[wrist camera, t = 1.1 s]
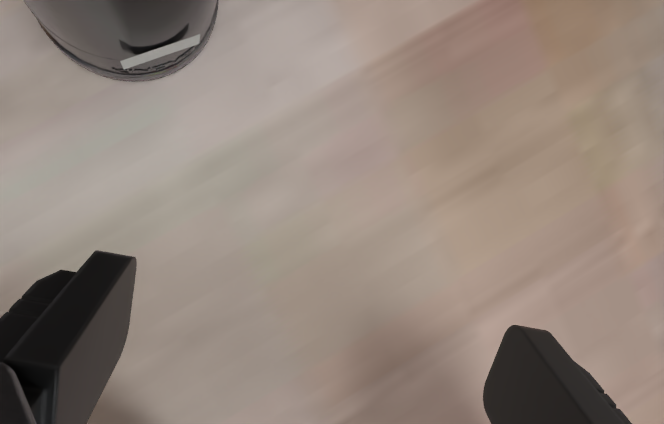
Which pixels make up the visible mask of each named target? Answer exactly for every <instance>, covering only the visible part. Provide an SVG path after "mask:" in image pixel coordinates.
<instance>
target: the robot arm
mask: <svg viewBox="0 0 664 424" xmlns="http://www.w3.org/2000/svg"><path fill="white" fill-rule="evenodd" d="M23 1H24V2H25V4H26V5H27V6H28V7H29V9H30V10H31V12H32V13H33V14H34V16H35V17H36V18H37V20H38V22H39V23H40V25H41V27H42V28H43V30H44V31H45V32H46V34H47V35H48V36H49V38H50V39H51V40H52V41H53V42H54V44H55V45H56V46H57V47H58V48H59V49H60V50H61V51H62V52H63V53H64V54H65V55H66V56H68V57H69V58H70V59H71V60H73V61H74V62H76V63H77V64H78V65H80V66H82V67H84V68H85V69H87V70H89V71H91V72H94V73H96V74H98V75H101V76H104V77H108V78H112V79H116V80H123V81H146V80H153V79H157V78H161V77H164V76H167V75H170V74H172V73H174V72H176V71H178V70H179V69H181V68H183V67H184V66H186V65H187V64H188V63H190V62H191V61H192V60H193V59H194V58H195V57H196V56H197V55H198V54H199V53H200V52H201V50H202V49H203V48H204V46H205V45H206V43H207V41H208V40H209V38H210V36H211V33H212V31H213V28H214V25H215V21H216V16H217V10H218V0H23ZM135 275H136V258H135V257H131V256H126V255H120V254H114V253H109V252H103V251H95V252H94V253H93V254H92V255H91V256H90V257H89V259H88V260H87V261H86V262H85V263H84V264H83V266H82V267H81V268H80V269H79V270H78V271H77V272H71V271H65V270H60V271H57V272H55V273H53V274H51V275H49V276H46V277H44V278H42V279H40V280H38V281H36V282H35V283H34V284H33V285H32V286H31V287H30V288H29V289H28V290H27V292H26V293H25V294H24V295H23V296H22V299H19V300H18V301H17V302H16V303H15V304H14V305H13V306H12V307H11V308H10V310H9V312H6V313H5V314H4V315H3V316H2V317H1V318H0V424H86V423H87V421H88V419H89V417H90V415H91V413H92V411H93V409H94V407H95V405H96V403H97V401H98V399H99V397H100V395H101V393H102V391H103V389H104V387H105V385H106V383H107V382H108V380H109V378H110V376H111V374H112V372H113V370H114V368H115V366H116V364H117V362H118V360H119V358H120V356H121V353H122V351H123V348H124V345H125V341H126V338H127V334H128V329H129V322H130V314H131V306H132V298H133V290H134V283H135ZM483 402H484V408H485V411H486V414H487V416H488V418H489V420H490V422H491V424H632V423H631V422H630V421H629V420H628V418H627V417H626V416H625V415H624V414H623V413H622V411H621V410H620V409H616V404H615V403H614V402H613V401H612V399H611V398H610V397H609V396H608V395H607V394H604V390H603V389H602V388H601V386H600V385H599V384H598V383H597V382H596V380H595V379H594V378H593V377H592V376H591V374H590V373H589V372H587V371H586V370H585V369H583V368H582V367H581V366H580V365H578V364H577V363H576V362H574V361H573V360H572V359H571V357H570V356H569V355H568V354H567V353H566V351H565V350H564V349H563V348H562V347H561V345H560V344H559V343H558V342H557V340H556V339H555V338H554V337H553V336H552V334H551V333H550V332H548V331H546V330H541V329H535V328H529V327H524V326H518V325H513V326H511V327H509V328H508V329H507V331H506V332H505V335H504V337H503V339H502V342H501V344H500V347H499V349H498V352H497V354H496V357H495V359H494V362H493V364H492V367H491V369H490V372H489V374H488V377H487V379H486V382H485V386H484V392H483Z"/></svg>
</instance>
